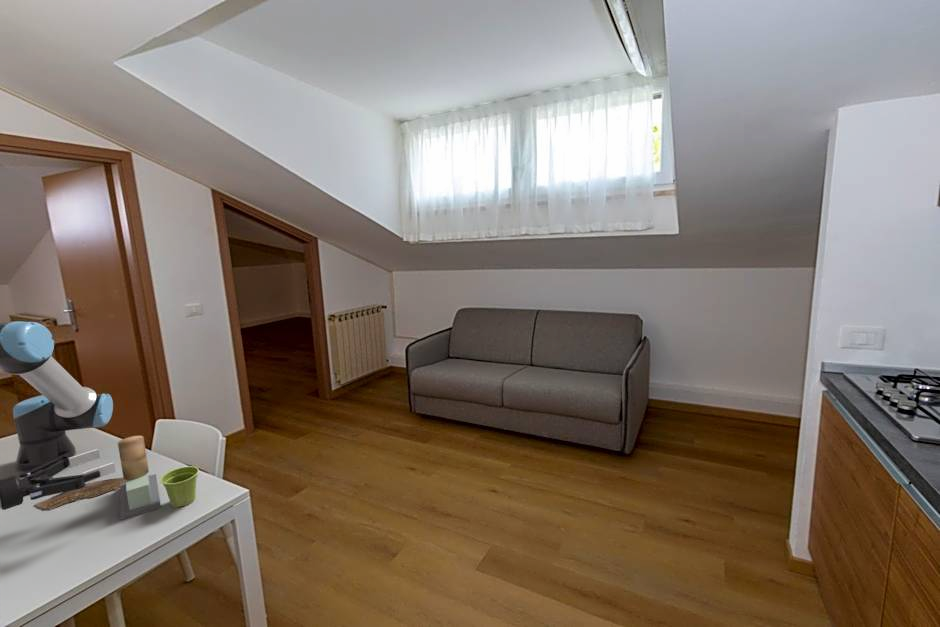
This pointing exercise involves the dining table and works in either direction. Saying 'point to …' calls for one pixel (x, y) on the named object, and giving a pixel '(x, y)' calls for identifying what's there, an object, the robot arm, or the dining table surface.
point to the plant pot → (181, 485)
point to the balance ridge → (139, 496)
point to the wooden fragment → (81, 493)
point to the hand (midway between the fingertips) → (106, 459)
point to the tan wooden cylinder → (133, 457)
